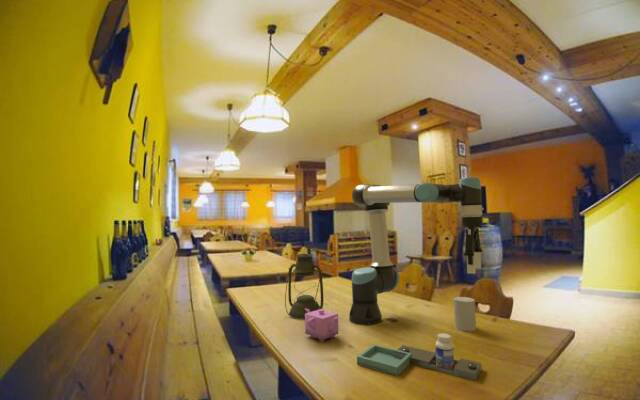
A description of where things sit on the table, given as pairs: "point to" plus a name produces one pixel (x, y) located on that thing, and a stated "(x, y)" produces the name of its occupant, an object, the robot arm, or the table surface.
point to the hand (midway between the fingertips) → (474, 270)
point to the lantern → (303, 302)
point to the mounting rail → (428, 358)
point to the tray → (383, 359)
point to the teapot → (321, 324)
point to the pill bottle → (444, 351)
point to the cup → (464, 313)
